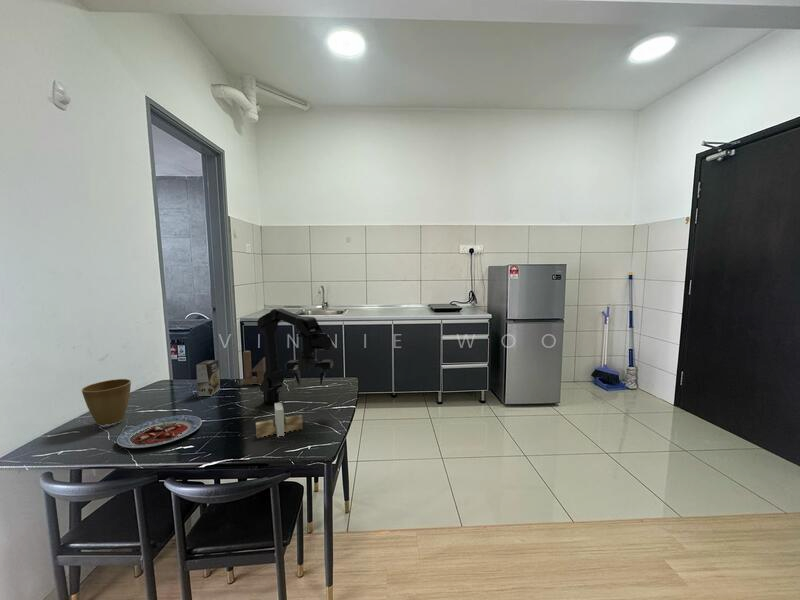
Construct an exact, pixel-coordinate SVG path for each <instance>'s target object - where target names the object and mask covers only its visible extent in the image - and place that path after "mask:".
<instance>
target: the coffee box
mask: <svg viewBox="0 0 800 600" xmlns="http://www.w3.org/2000/svg"><path fill="white" fill-rule="evenodd" d="M195 367H196V381H197V382H196V385H197V397H198V396H211V397H212V395H213V394H214V395H215V393H216V392H217V393H219V392H220V391H221V386H220V385H221V384H220V365H219V359H211V360H207V359H206V360H204V361H201V362H200V363H197V364H196V366H195ZM219 390H220V391H219ZM218 391H219V392H218ZM217 393H216V394H217ZM214 395H213V396H214Z"/></svg>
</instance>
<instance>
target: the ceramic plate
mask: <svg viewBox="0 0 800 600" xmlns="http://www.w3.org/2000/svg"><path fill="white" fill-rule="evenodd" d="M202 421H203V420H202V419H201V418H200V417H198V416H196V415H195V416H194V415H184V414H181V415H172V416H166V417H161V418H156V419H152V420H149V421H145V422H143V423H140V424H137V425H135V426H134V425H133V427H130V428H128V429H127V430H125V431H124V432H122V433H121V434H119V436H118V437H117V439H116V443H117V445H119V446H120V447H123V448H129V449H141V448H142V449H144V448H150V447H156V446H160V445H164V444H168V443H172V442H175V441H177V440H180V439H183V438H186V437H187V436H189V435H190V434H192V433H194V432H196V431H197V430H198V429H199V428H200V427H201V425H202V423H203V422H202ZM170 423H171V424H172V423H176V424H174V425H169V424H170ZM166 424H167V425H166ZM157 425H159V426H161V425H165V426H166V427H158V426H157ZM153 426H157V427H153ZM151 427H152V428H151ZM147 428H149V429H147ZM145 429H147V430H145ZM143 430H145V431H144V432H143V433H140V434H139V435H138V436H136V437H135V438H134V440H133V443H132V442H131V441H130V438H131V437H132V436H133V435H135V434H136V433H139V432H140V431H143ZM180 433H182V434H180ZM177 436H178V437H177ZM165 440H167V441H165ZM159 441H160V442H159ZM162 441H163V442H162ZM154 442H158V443H154ZM149 443H153V444H149ZM137 444H142V445H137ZM144 444H145V445H144Z"/></svg>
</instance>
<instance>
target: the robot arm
mask: <svg viewBox="0 0 800 600" xmlns="http://www.w3.org/2000/svg"><path fill="white" fill-rule="evenodd" d="M280 322H285V323H287V324H290V325H292V326H294V327H295V329H296V330H298V332H299V333H298V334H297V337H298V338H300V341H301V351H300V357H299V358H298V359H290V360H288V361H287V362H286V363H285V365H284V368H285V371H286V370H287V371H288V372H290V373H292V374H293V375H294V378H295V379H296V382H297V384H298V385H299V386H300V385H301V382H302V380H301V378H302V377H301V371H310V370H311V368H312V367H313V368H317V367H318V368H319V367H320V370H319V372H320V375H319V376H320V377H319V378H320V379H319V380H320V381H319V383H320V386H322V385H323V383H324V379H325V377H326V373H327V371H329V370H331V369H332V368H333V367H334V361H333V359H323V360H321V361H318V358H317V352H318V350H319V351H321V350H322V351H329V350H330V349H331V347H332V343H333V340H332V339H331V337H330V336H329V334H328V333H327V332H323V330H322V328H321V326H320V324H319V322H318V321H317V318H316V317H314V316H306V315H305V316H304V315H303V316H302V315H299V314H296V313H293V312H292V311H289V310H286V309H284V308H282V307H279V308H273V309H271V310H270V311H269V312H268V313H265V314H263V315H262V316H260V317H259V318H258V319H257V321H256V324H257V329H258V331H259V333H260V334H261V335H262V337H263V345H264V357H265V366H266V371H265V373H264V381H263V382H262V383H261V385H258V388H259V391H260V392H263V394H262V395H263V402H262V403H261V404H262V405H263V404H272V405H273V404H274V403H280V401H281V400H282V396H281V394H282V393H281V391H280V388H283V385H284V381H285V378H286V377H285V372H284V369H281V368H280V367H279V361H278V360H279V359H278V351H277V350H278V349H277V343H276V342H277V341H276V333H277V331H278V329H279V323H280Z"/></svg>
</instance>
